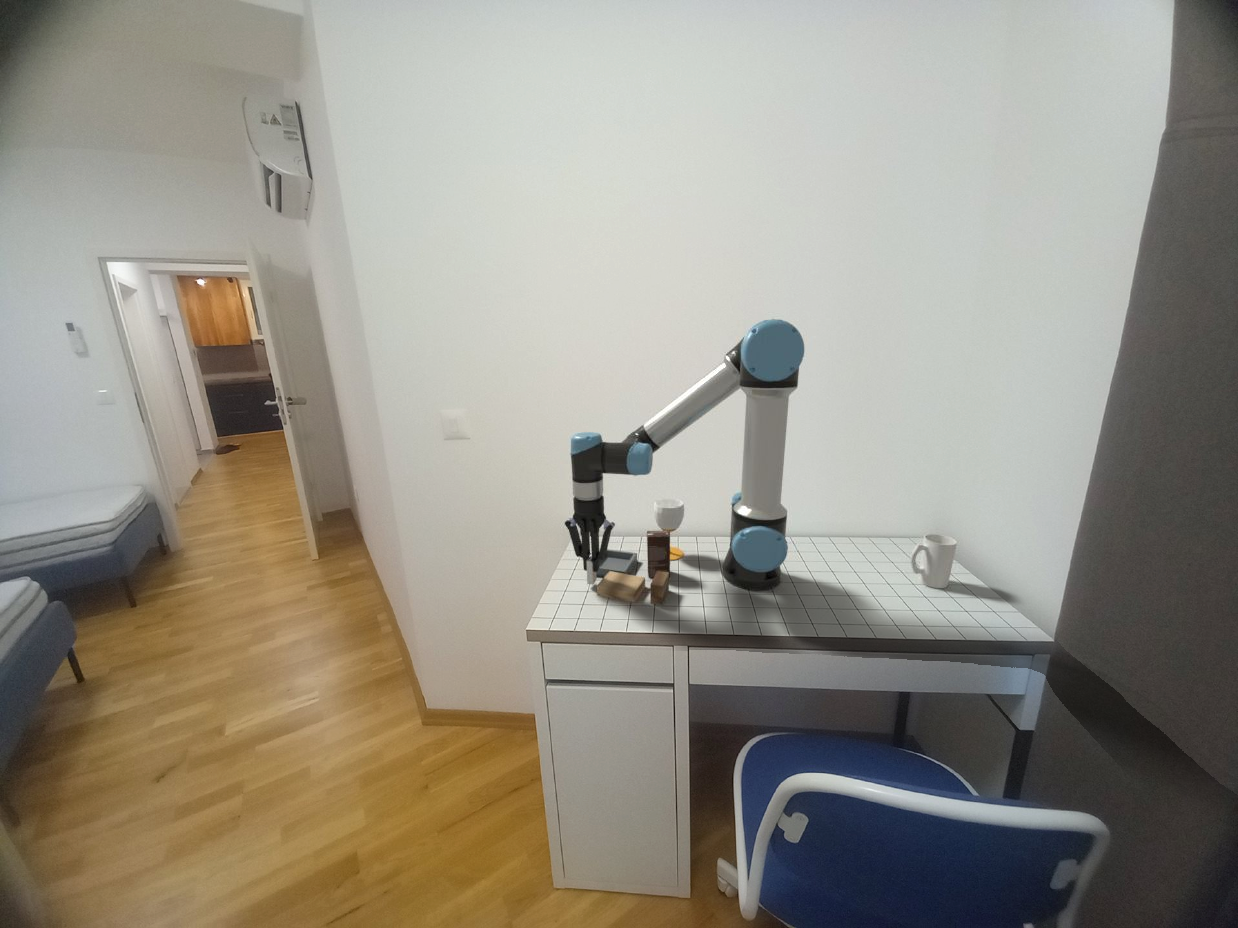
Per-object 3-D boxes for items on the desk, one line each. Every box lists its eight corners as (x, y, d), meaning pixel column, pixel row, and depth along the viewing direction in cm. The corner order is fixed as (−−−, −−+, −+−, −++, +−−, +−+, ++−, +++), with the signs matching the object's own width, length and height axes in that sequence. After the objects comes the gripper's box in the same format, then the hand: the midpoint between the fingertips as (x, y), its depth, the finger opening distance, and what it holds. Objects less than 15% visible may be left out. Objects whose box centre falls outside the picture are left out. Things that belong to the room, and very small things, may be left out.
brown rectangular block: (668, 590, 113) (668, 572, 112) (662, 604, 107) (662, 586, 106) (657, 588, 114) (657, 570, 113) (650, 602, 108) (650, 584, 107)
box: (668, 569, 124) (668, 529, 121) (670, 578, 120) (670, 536, 116) (646, 570, 124) (646, 529, 121) (647, 578, 120) (647, 536, 117)
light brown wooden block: (645, 588, 116) (645, 577, 115) (634, 604, 108) (634, 593, 108) (609, 581, 119) (609, 570, 119) (597, 596, 112) (596, 585, 111)
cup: (690, 555, 132) (691, 503, 128) (666, 563, 128) (667, 510, 124) (670, 544, 140) (670, 495, 136) (647, 552, 135) (647, 502, 131)
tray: (637, 560, 129) (637, 553, 129) (625, 580, 119) (624, 571, 118) (602, 556, 133) (602, 548, 132) (588, 574, 122) (587, 566, 121)
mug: (936, 575, 118) (943, 533, 115) (955, 588, 112) (963, 544, 109) (898, 576, 118) (905, 534, 115) (915, 589, 111) (923, 545, 108)
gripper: (618, 492, 112) (620, 578, 117) (570, 489, 116) (574, 571, 121) (608, 502, 105) (610, 592, 111) (557, 498, 109) (563, 585, 115)
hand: (592, 581), depth 116 cm, fingers closed
